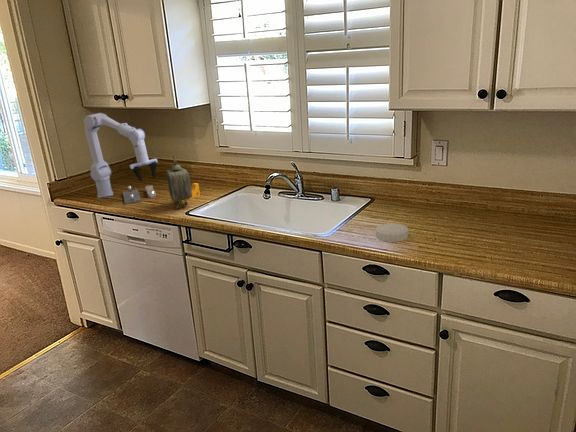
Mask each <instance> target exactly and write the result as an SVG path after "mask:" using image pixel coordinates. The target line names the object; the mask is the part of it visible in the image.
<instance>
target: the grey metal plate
mask: <svg viewBox="0 0 576 432" xmlns="http://www.w3.org/2000/svg"><path fill="white" fill-rule="evenodd" d="M139 193H140V192H139V189H132V186H131V185H127V190H124V191H123V190H122V196H123V201H124V205H129V204H136V203H142V199H141V196H140V194H139Z"/></svg>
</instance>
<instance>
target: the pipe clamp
mask: <svg viewBox="0 0 576 432" xmlns="http://www.w3.org/2000/svg"><path fill="white" fill-rule="evenodd" d="M191 190H192V197H191V198H190V199H188V200H187V201H189V200H191V199H194V198H198V197H200V196H201V193H200V192H201V191H200V185H199V183H198V182H197V183H196V182H195V183H194V182H193V183H192V185H191ZM181 202H182V203H183V202H184V203H185V201H184V200H182V201H181ZM181 202H180V203H181Z"/></svg>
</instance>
